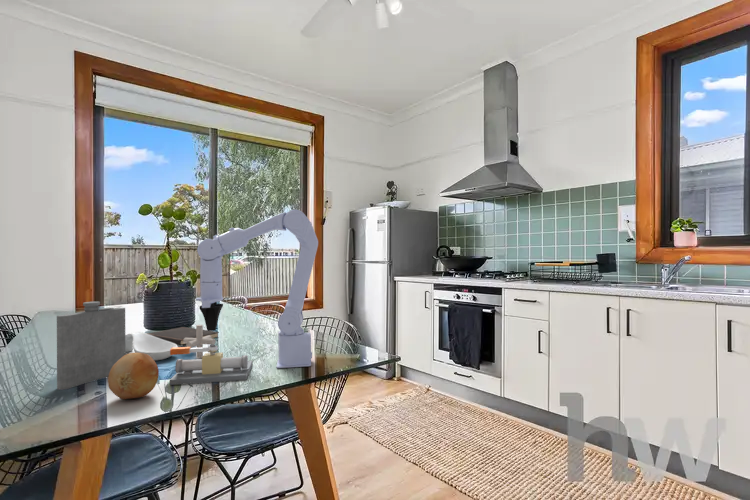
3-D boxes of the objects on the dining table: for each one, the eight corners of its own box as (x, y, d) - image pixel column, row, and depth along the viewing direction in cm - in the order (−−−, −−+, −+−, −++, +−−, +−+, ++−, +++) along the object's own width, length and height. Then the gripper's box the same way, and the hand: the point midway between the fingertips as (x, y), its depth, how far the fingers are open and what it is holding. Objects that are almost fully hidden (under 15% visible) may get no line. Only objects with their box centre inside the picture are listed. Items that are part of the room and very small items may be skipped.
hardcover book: (183, 332, 167) (183, 326, 167) (219, 338, 155) (219, 332, 155) (144, 339, 154) (144, 333, 154) (180, 346, 141) (180, 340, 141)
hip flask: (61, 390, 95) (61, 306, 95) (52, 388, 97) (51, 305, 97) (128, 372, 109) (127, 298, 109) (119, 370, 111) (118, 298, 111)
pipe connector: (204, 362, 118) (203, 328, 118) (174, 361, 120) (174, 327, 120) (223, 354, 128) (223, 322, 128) (195, 352, 130) (195, 322, 130)
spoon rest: (186, 357, 126) (185, 334, 126) (149, 366, 115) (149, 341, 115) (141, 349, 137) (141, 328, 137) (104, 357, 127) (104, 334, 127)
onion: (103, 409, 83) (103, 361, 83) (113, 394, 92) (112, 350, 92) (156, 402, 87) (156, 356, 87) (160, 388, 96) (160, 346, 96)
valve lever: (218, 350, 106) (218, 343, 106) (216, 352, 104) (216, 345, 104) (172, 352, 104) (172, 346, 104) (169, 355, 102) (169, 348, 102)
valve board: (252, 364, 115) (252, 342, 115) (246, 379, 101) (246, 354, 101) (185, 368, 112) (185, 346, 112) (169, 384, 98) (169, 359, 98)
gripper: (202, 280, 120) (202, 326, 120) (189, 284, 105) (189, 336, 105) (227, 280, 121) (227, 325, 121) (217, 283, 107) (218, 334, 107)
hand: (211, 330), depth 113 cm, fingers closed
